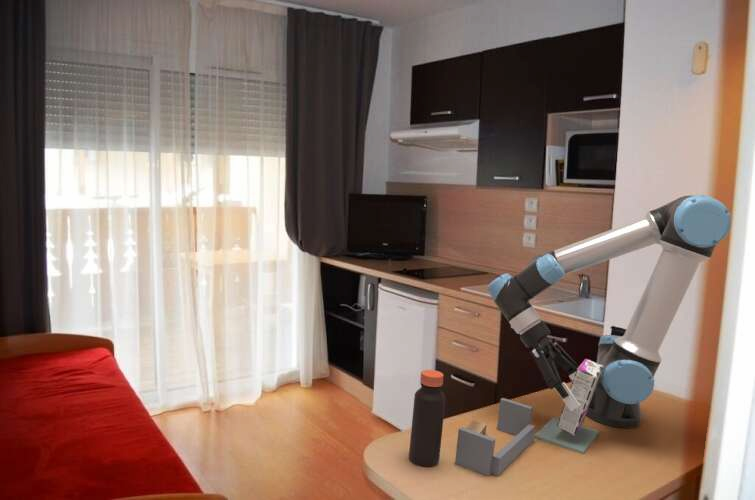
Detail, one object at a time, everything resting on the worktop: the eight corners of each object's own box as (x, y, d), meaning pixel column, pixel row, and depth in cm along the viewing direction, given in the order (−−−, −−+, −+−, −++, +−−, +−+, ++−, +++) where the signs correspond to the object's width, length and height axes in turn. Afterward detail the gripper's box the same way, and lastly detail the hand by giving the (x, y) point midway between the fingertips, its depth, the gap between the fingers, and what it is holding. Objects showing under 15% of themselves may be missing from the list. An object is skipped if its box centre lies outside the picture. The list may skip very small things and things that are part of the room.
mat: (598, 433, 147) (599, 431, 147) (583, 453, 134) (583, 451, 134) (553, 419, 153) (553, 417, 153) (534, 437, 141) (534, 435, 141)
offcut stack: (486, 443, 136) (488, 424, 135) (476, 457, 129) (478, 436, 128) (470, 439, 138) (472, 419, 137) (459, 452, 130) (462, 431, 130)
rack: (535, 439, 140) (538, 408, 139) (494, 478, 120) (499, 443, 118) (499, 427, 145) (502, 397, 144) (455, 463, 125) (458, 429, 124)
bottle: (445, 461, 125) (454, 375, 123) (425, 470, 121) (434, 381, 118) (422, 449, 130) (430, 366, 127) (402, 457, 125) (410, 371, 123)
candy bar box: (564, 413, 149) (585, 357, 146) (583, 422, 147) (604, 365, 143) (554, 427, 139) (576, 367, 136) (574, 436, 137) (597, 376, 134)
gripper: (534, 327, 159) (582, 395, 153) (502, 344, 140) (555, 422, 133) (555, 313, 156) (606, 382, 149) (525, 328, 136) (581, 408, 130)
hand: (582, 401), depth 141 cm, fingers closed on candy bar box, 11 cm apart
